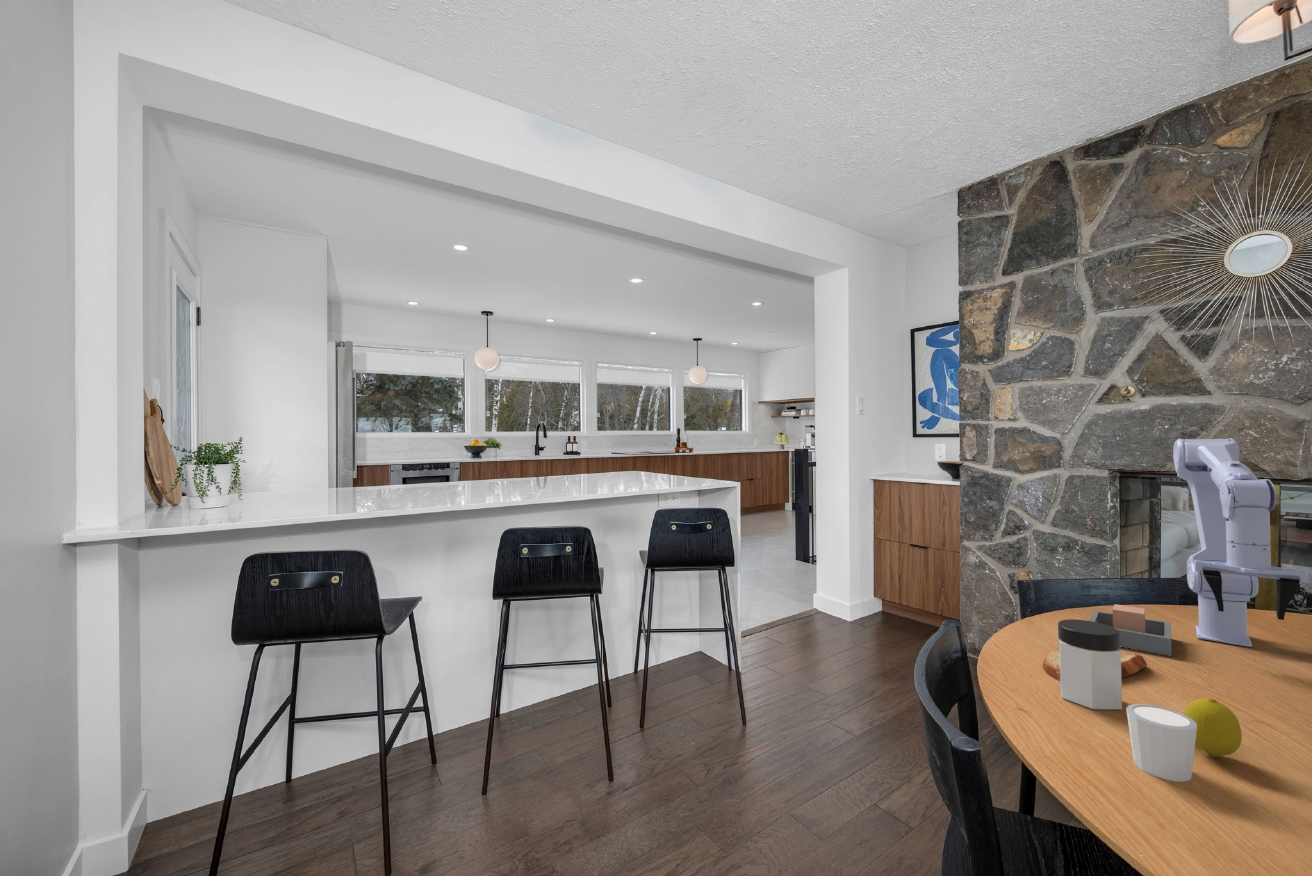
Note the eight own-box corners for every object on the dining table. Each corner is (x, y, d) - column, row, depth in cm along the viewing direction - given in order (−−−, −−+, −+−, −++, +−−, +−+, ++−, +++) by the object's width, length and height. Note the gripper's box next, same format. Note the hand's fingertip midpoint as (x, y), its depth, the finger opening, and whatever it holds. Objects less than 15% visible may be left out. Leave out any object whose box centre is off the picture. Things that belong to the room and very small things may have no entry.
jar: (1135, 704, 89) (1133, 630, 89) (1108, 716, 85) (1106, 639, 85) (1073, 682, 97) (1071, 615, 97) (1046, 692, 93) (1044, 622, 93)
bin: (1094, 625, 126) (1093, 610, 126) (1171, 638, 117) (1170, 622, 117) (1087, 640, 116) (1087, 624, 116) (1171, 656, 107) (1171, 638, 107)
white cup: (1113, 755, 75) (1112, 704, 75) (1159, 751, 75) (1158, 701, 75) (1164, 786, 68) (1163, 730, 68) (1214, 782, 69) (1212, 727, 69)
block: (1115, 631, 120) (1114, 604, 120) (1145, 636, 117) (1144, 608, 117) (1113, 637, 116) (1112, 609, 116) (1144, 643, 113) (1144, 614, 113)
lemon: (1254, 770, 71) (1253, 709, 71) (1204, 766, 72) (1203, 705, 72) (1220, 747, 76) (1218, 690, 76) (1174, 743, 77) (1172, 687, 77)
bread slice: (1052, 684, 97) (1052, 663, 97) (1026, 648, 114) (1025, 630, 114) (1181, 699, 91) (1180, 677, 91) (1133, 659, 107) (1133, 640, 107)
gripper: (1195, 541, 106) (1196, 611, 106) (1311, 550, 96) (1313, 628, 96) (1193, 536, 111) (1195, 603, 111) (1303, 544, 101) (1305, 618, 101)
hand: (1249, 614), depth 103 cm, fingers open, 7 cm apart
